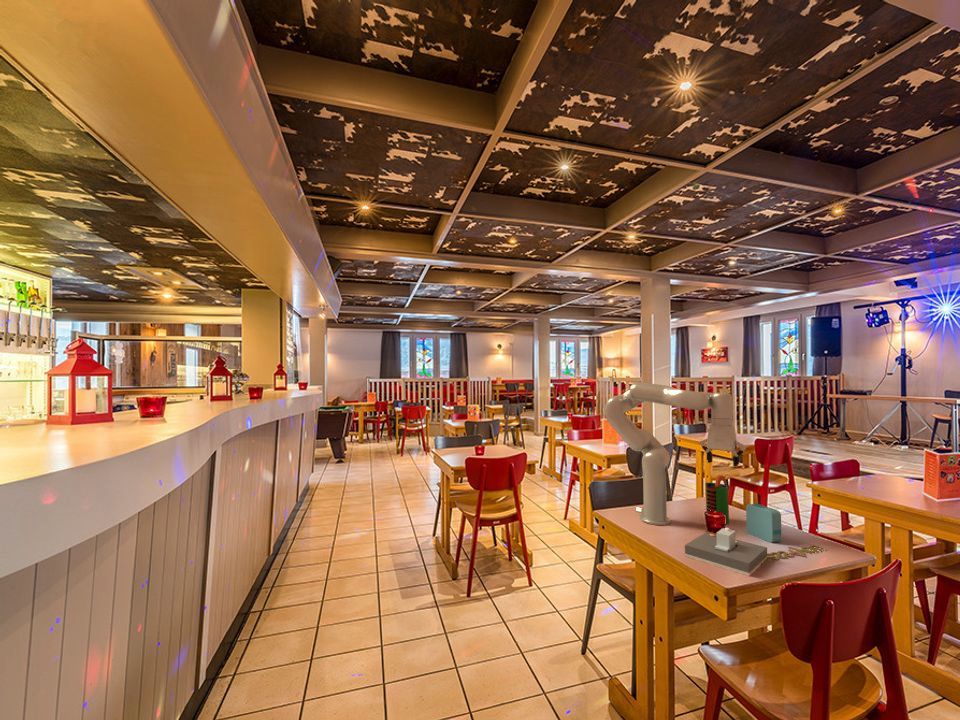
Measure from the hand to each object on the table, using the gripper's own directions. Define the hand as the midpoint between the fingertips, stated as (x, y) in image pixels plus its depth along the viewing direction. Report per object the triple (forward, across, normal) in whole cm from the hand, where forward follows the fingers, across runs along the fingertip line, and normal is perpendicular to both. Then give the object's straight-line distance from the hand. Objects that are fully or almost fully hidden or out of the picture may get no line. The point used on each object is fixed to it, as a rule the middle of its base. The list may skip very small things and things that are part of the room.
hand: (722, 464), depth 175 cm
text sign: (+29, +22, -7) cm, 37 cm away
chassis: (+28, +9, -25) cm, 39 cm away
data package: (+29, +12, +8) cm, 32 cm away
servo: (+27, +9, -25) cm, 38 cm away
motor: (+28, -8, +16) cm, 34 cm away
